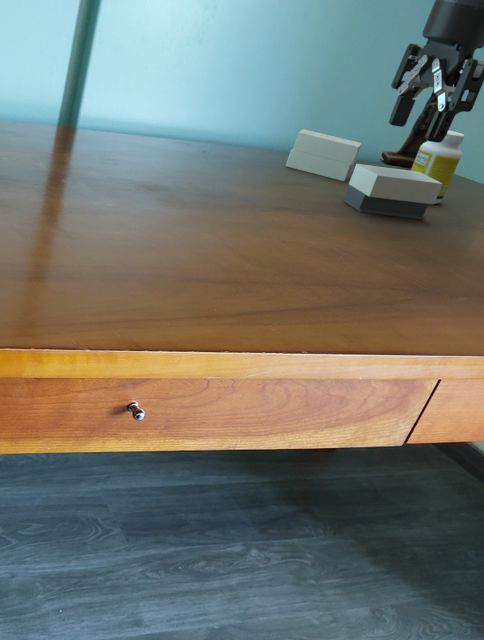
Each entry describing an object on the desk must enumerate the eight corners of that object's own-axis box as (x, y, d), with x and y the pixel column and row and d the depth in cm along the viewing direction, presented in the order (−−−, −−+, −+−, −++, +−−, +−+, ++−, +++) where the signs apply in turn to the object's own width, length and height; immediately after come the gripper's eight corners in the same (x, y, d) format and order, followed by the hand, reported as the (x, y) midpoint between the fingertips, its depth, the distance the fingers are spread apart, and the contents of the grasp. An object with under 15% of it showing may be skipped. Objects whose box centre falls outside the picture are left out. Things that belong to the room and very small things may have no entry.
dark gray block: (402, 219, 108) (413, 193, 106) (419, 230, 104) (431, 203, 102) (338, 211, 106) (348, 185, 104) (353, 222, 102) (364, 195, 100)
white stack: (348, 177, 127) (361, 143, 124) (346, 182, 124) (359, 146, 121) (289, 162, 131) (301, 128, 128) (285, 166, 127) (296, 131, 124)
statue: (378, 158, 146) (419, 53, 137) (413, 164, 146) (457, 59, 137) (385, 164, 143) (429, 56, 133) (421, 170, 143) (467, 62, 133)
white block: (410, 192, 106) (419, 171, 105) (433, 204, 101) (443, 183, 100) (348, 184, 104) (356, 163, 103) (369, 196, 100) (377, 175, 98)
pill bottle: (445, 202, 122) (474, 135, 116) (434, 207, 117) (464, 138, 112) (407, 190, 125) (434, 125, 120) (395, 195, 121) (423, 127, 115)
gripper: (535, 14, 85) (471, 151, 93) (458, 1, 98) (408, 124, 106) (479, 3, 84) (419, 143, 92) (409, -8, 96) (361, 117, 104)
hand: (413, 133), depth 99 cm, fingers open, 8 cm apart
